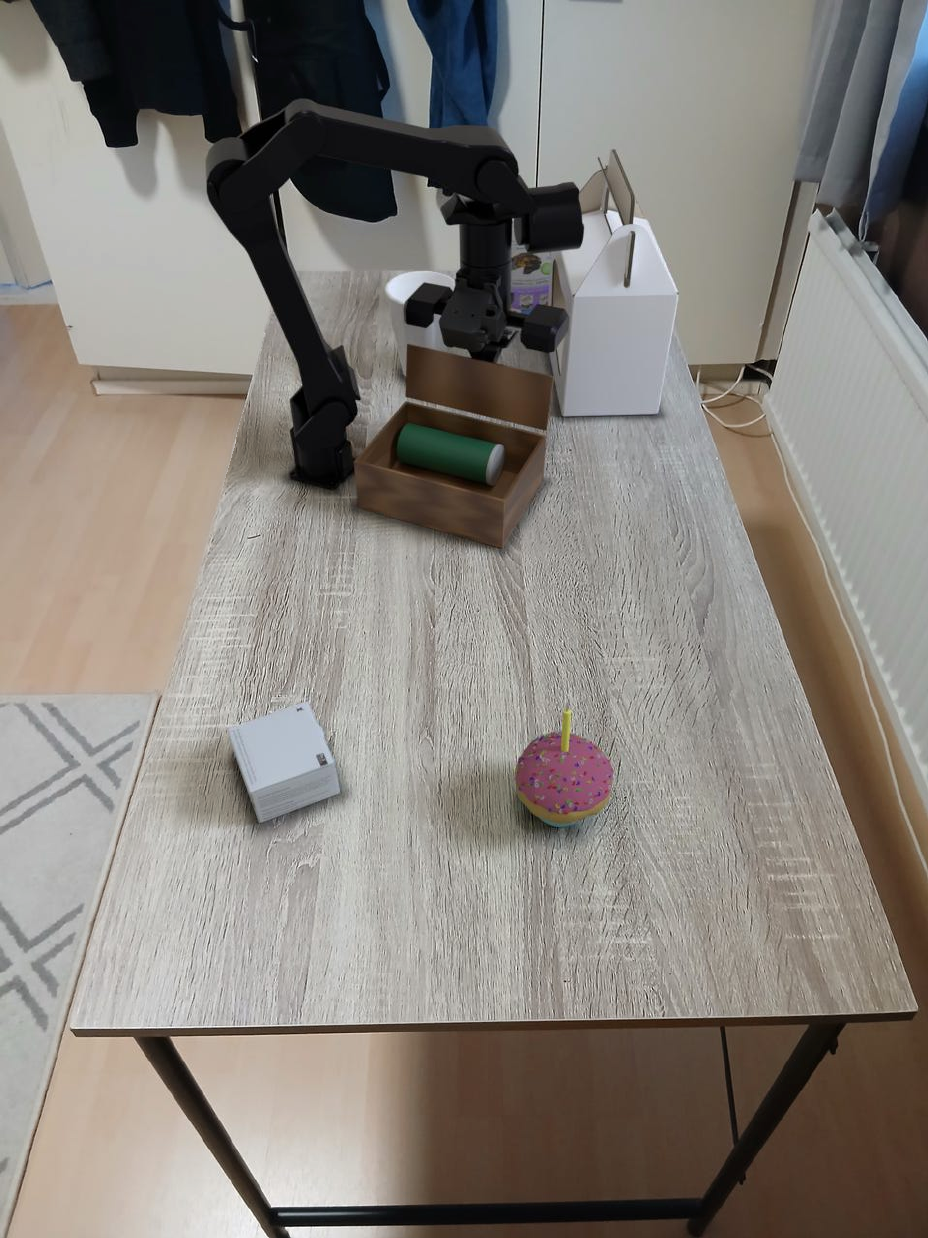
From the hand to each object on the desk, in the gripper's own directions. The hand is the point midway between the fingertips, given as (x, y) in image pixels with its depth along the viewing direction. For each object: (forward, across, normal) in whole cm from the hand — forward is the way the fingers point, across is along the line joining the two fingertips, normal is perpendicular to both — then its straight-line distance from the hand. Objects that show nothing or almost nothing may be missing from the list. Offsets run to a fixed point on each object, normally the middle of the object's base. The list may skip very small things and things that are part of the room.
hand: (485, 380), depth 113 cm
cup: (+10, -15, +14) cm, 23 cm away
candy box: (+11, -8, +35) cm, 37 cm away
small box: (+10, +2, -54) cm, 55 cm away
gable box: (+11, +8, +23) cm, 27 cm away
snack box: (+10, 0, -10) cm, 14 cm away
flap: (-1, 0, -3) cm, 3 cm away
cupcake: (+10, +26, -48) cm, 55 cm away
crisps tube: (+7, -8, -6) cm, 13 cm away
